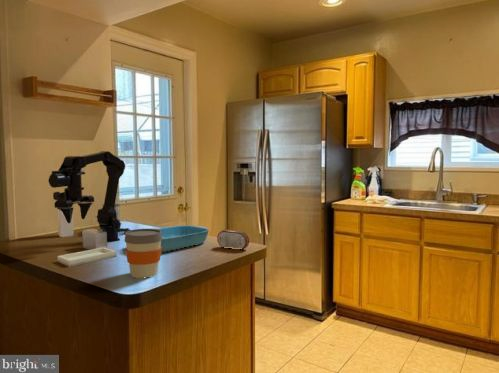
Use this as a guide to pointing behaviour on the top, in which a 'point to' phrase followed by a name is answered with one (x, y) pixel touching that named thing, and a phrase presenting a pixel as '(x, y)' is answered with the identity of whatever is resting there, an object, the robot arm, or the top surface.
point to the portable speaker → (233, 239)
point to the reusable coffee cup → (143, 251)
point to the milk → (64, 225)
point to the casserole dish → (182, 236)
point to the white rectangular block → (94, 239)
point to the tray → (86, 256)
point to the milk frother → (119, 219)
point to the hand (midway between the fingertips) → (76, 221)
